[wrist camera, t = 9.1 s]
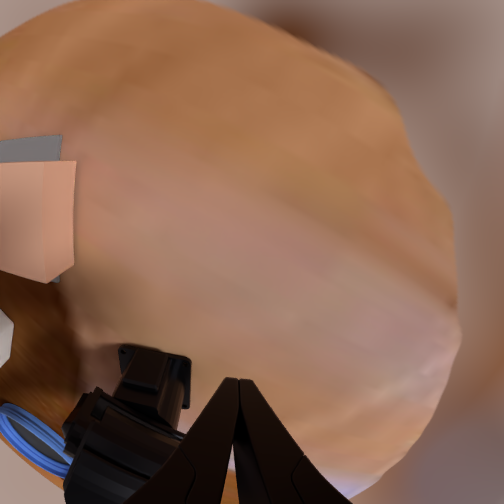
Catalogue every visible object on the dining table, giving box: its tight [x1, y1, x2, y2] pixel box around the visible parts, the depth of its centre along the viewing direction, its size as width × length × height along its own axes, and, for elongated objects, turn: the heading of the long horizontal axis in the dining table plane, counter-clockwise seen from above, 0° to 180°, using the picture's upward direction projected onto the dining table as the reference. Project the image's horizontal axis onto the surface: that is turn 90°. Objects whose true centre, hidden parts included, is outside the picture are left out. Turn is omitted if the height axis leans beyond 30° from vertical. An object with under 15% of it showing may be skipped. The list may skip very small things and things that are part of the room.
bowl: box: [0, 403, 73, 479], centre depth 26 cm, size 18×18×4 cm
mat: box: [0, 135, 62, 283], centre depth 17 cm, size 12×11×1 cm
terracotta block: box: [0, 161, 76, 284], centre depth 15 cm, size 8×4×10 cm
